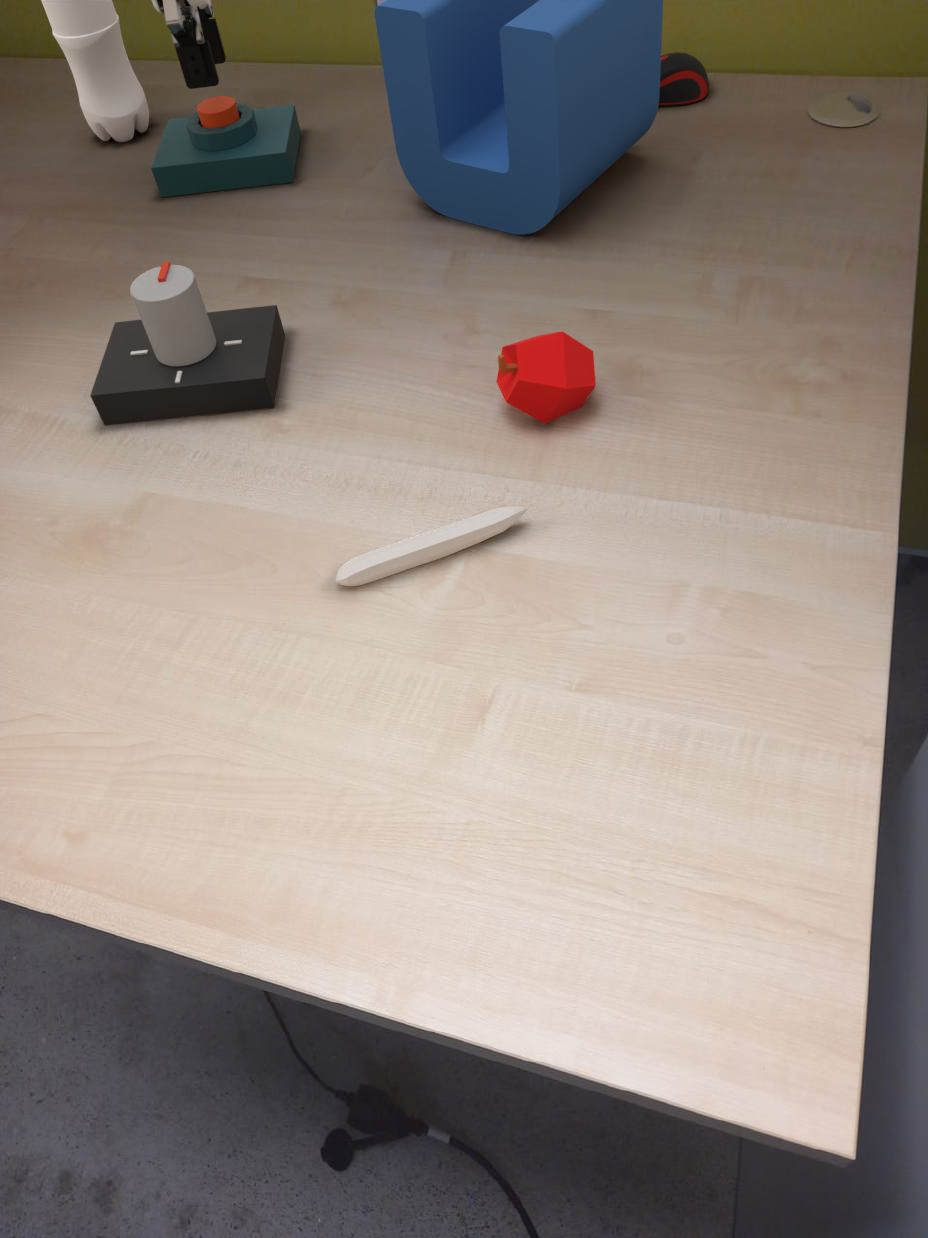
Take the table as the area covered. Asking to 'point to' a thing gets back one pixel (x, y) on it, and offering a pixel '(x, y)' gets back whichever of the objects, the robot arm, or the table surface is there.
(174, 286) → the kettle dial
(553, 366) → the apple
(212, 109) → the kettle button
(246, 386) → the dial panel
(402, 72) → the block
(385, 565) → the pen
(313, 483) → the table surface
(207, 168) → the teal button box
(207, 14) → the robot arm
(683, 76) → the computer mouse
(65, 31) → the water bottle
